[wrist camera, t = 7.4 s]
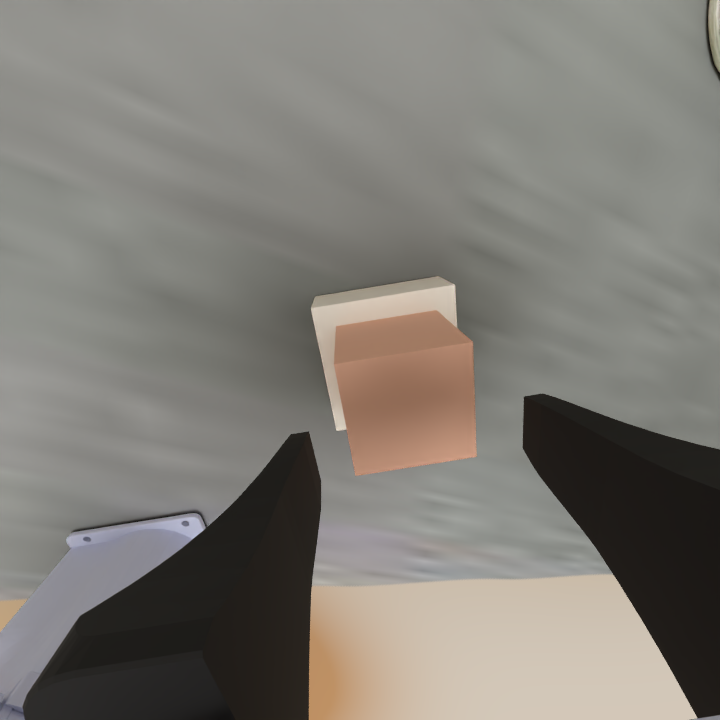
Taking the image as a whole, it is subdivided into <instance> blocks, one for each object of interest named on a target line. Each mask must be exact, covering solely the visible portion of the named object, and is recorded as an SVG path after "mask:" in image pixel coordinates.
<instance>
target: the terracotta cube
mask: <svg viewBox="0 0 720 720" xmlns="http://www.w3.org/2000/svg"><path fill="white" fill-rule="evenodd" d="M334 367H335V373H336V378H337V383H338V388H339V393H340V398H341V403H342V408H343V414H344V419H345V424H346V429H347V434H348V439H349V444H350V449H351V455H352V460H353V465H354V470H355V475H356V476H358V475H365V474H371V473H377V472H384V471H390V470H396V469H403V468H409V467H415V466H422V465H428V464H434V463H441V462H447V461H453V460H460V459H466V458H472V457H477V454H476V422H475V391H474V359H473V342H472V341H471V340H470V339H469V338H468V337H467V336H466V335H464V334H463V333H462V332H461V331H460V330H459V329H458V328H456V327H455V326H454V325H453V324H452V323H451V322H450V321H448V320H447V319H446V318H445V317H444V316H443V315H442V314H441V313H439V312H438V311H437V310H433V311H427V312H421V313H415V314H409V315H402V316H396V317H390V318H384V319H378V320H371V321H365V322H359V323H353V324H347V325H340V326H336V334H335V353H334Z"/></svg>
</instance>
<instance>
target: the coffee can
mask: <svg viewBox="0 0 720 720" xmlns="http://www.w3.org/2000/svg"><path fill="white" fill-rule="evenodd" d="M708 27H709V41H710V46H711V51H712V56H713V61H714V64H715V66H716V68H717V69H718V71H719V73H720V0H710V3H709V13H708Z"/></svg>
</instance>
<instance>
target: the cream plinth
mask: <svg viewBox="0 0 720 720" xmlns="http://www.w3.org/2000/svg"><path fill="white" fill-rule="evenodd" d="M433 310H437V311H438V312H439V313H441V314H442V315H443V316H444V317H445V318H446V319H447V320H448V321H450V322H451V323H452V324H453V325H454V326H455V327H456V328H457V314H456V295H455V284H453V283H451V282H449V281H447V280H445V279H443V278H441V277H439V276H436V277H430V278H424V279H418V280H412V281H406V282H400V283H394V284H388V285H382V286H376V287H370V288H363V289H357V290H351V291H345V292H339V293H333V294H327V295H321V296H315V298H314V301H313V304H312V306H311V312H312V316H313V321H314V326H315V331H316V335H317V340H318V345H319V350H320V354H321V359H322V364H323V368H324V373H325V378H326V383H327V387H328V392H329V397H330V402H331V406H332V411H333V416H334V421H335V425H336V430H337V431H340V430H346V424H345V419H344V414H343V408H342V403H341V398H340V393H339V388H338V383H337V378H336V373H335V367H334V353H335V334H336V326H340V325H347V324H353V323H359V322H365V321H371V320H378V319H384V318H390V317H396V316H402V315H409V314H415V313H421V312H427V311H433Z"/></svg>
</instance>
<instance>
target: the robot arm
mask: <svg viewBox="0 0 720 720" xmlns="http://www.w3.org/2000/svg"><path fill="white" fill-rule="evenodd" d="M523 449H524V451H525V453H526V455H527V456H528V458H529V460H530V462H531V463H532V465H533V466H534V468H535V470H536V471H537V473H538V474H539V476H540V477H541V478H542V480H543V481H544V482H545V484H546V485H547V486H548V487H549V489H550V490H551V491H552V492H553V494H554V495H555V496H556V498H557V499H558V500H559V501H560V503H561V504H562V505H563V506H564V507H565V509H566V510H567V511H568V512H569V514H570V515H571V516H572V517H573V519H574V520H575V521H576V522H577V524H578V525H579V526H580V527H581V529H582V530H583V531H584V532H585V534H586V535H587V536H588V538H589V539H590V540H591V542H592V543H593V545H594V546H595V547H596V549H597V550H598V552H599V553H600V555H601V556H602V558H603V559H604V561H605V562H606V564H607V565H608V567H609V568H610V570H611V571H612V573H613V575H614V576H615V577H616V579H617V581H618V582H619V584H620V585H621V587H622V589H623V590H624V592H625V593H626V595H627V597H628V598H629V600H630V601H631V603H632V605H633V606H634V608H635V610H636V611H637V613H638V614H639V616H640V617H641V619H642V621H643V623H644V624H645V626H646V628H647V629H648V631H649V633H650V634H651V636H652V638H653V640H654V641H655V643H656V645H657V646H658V648H659V650H660V651H661V653H662V655H663V657H664V658H665V660H666V662H667V664H668V665H669V667H670V669H671V671H672V672H673V674H674V676H675V678H676V680H677V681H678V683H679V685H680V687H681V689H682V690H683V692H684V694H685V696H686V698H687V699H688V701H689V703H690V705H691V707H692V709H693V711H694V712H695V714H696V716H697V719H691V720H720V450H719V449H715V448H711V447H706V446H702V445H698V444H694V443H691V442H687V441H683V440H679V439H675V438H672V437H668V436H665V435H661V434H658V433H654V432H651V431H648V430H645V429H642V428H639V427H636V426H633V425H630V424H627V423H624V422H621V421H618V420H615V419H612V418H610V417H607V416H604V415H601V414H599V413H596V412H593V411H591V410H588V409H585V408H583V407H580V406H577V405H575V404H572V403H569V402H567V401H564V400H561V399H558V398H555V397H552V396H549V395H546V394H537V395H531V396H525V397H524V420H523ZM320 512H321V479H320V475H319V471H318V467H317V463H316V459H315V455H314V450H313V446H312V442H311V438H310V434H309V432H303V433H297V434H291V435H290V436H289V437H288V439H287V440H286V441H285V442H284V444H283V445H282V446H281V448H280V449H279V450H278V452H277V453H276V454H275V455H274V457H273V458H272V459H271V461H270V462H269V463H268V464H267V466H266V467H265V468H264V469H263V471H262V472H261V473H260V474H259V475H258V477H257V478H256V479H255V480H254V481H253V482H252V483H251V484H250V486H249V487H248V488H247V489H246V490H245V491H244V492H243V493H242V495H241V496H240V497H239V498H238V499H237V500H236V501H235V502H234V503H233V504H232V505H231V506H230V507H229V508H228V509H227V510H226V511H225V512H223V513H222V514H221V515H220V516H219V517H218V518H217V519H216V520H215V521H214V522H213V523H212V524H210V525H209V526H208V527H207V528H206V527H205V525H204V522H203V520H202V518H201V516H200V515H199V514H196V513H190V514H184V515H178V516H172V517H165V518H159V519H153V520H147V521H140V522H134V523H128V524H122V525H115V526H109V527H103V528H96V529H90V530H84V531H78V532H73V533H71V534H70V535H69V536H68V537H67V538H66V542H67V544H68V545H69V547H70V548H71V549H70V550H69V551H68V552H67V553H66V555H65V556H64V557H63V558H62V559H61V561H60V562H59V563H58V564H57V565H56V566H55V568H54V569H53V570H52V571H51V572H50V574H49V575H48V576H47V577H46V578H45V580H44V581H43V582H42V583H41V584H40V586H39V587H38V588H37V589H36V590H35V592H34V593H33V594H32V595H31V596H30V597H29V599H28V600H27V601H26V602H25V604H24V605H23V606H22V607H21V608H20V609H19V611H18V612H17V613H16V614H15V615H14V617H13V618H12V619H11V620H10V621H9V622H8V624H7V625H6V626H5V627H4V628H3V630H2V631H1V632H0V720H309V712H308V711H309V710H308V709H309V641H310V606H311V587H312V576H313V568H314V560H315V553H316V545H317V537H318V529H319V521H320ZM186 521H188V522H186Z"/></svg>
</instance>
